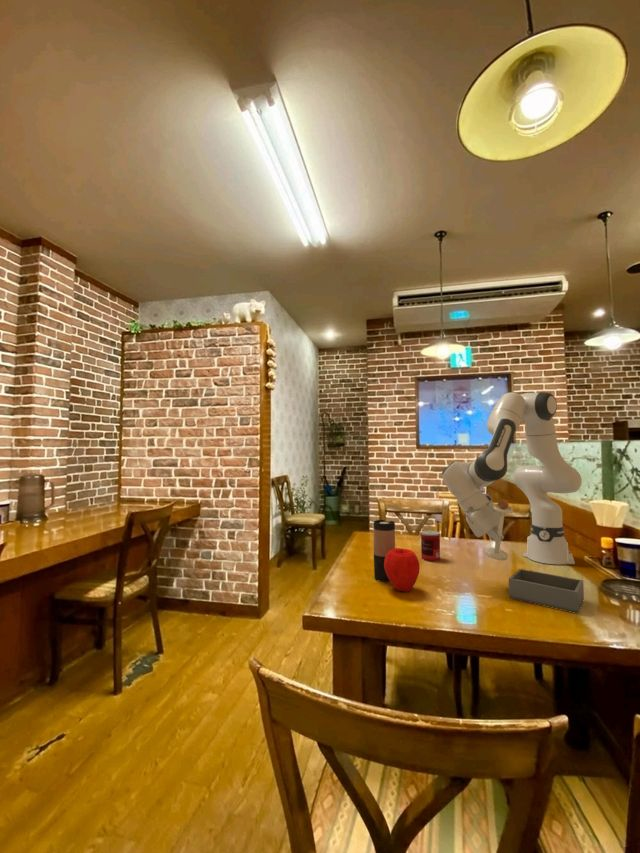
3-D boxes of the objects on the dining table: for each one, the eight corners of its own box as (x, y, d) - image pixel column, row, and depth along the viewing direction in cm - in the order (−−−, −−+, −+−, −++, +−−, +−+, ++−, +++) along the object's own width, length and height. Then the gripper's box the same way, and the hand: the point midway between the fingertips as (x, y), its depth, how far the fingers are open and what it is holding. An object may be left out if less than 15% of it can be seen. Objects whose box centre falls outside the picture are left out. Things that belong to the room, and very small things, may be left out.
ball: (500, 500, 132) (500, 496, 130) (510, 504, 130) (510, 500, 128) (496, 508, 131) (495, 504, 129) (506, 512, 130) (505, 508, 127)
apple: (377, 585, 133) (376, 545, 133) (406, 581, 137) (406, 542, 138) (395, 598, 122) (395, 554, 122) (427, 593, 126) (427, 551, 126)
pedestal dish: (488, 548, 138) (495, 502, 136) (510, 555, 134) (517, 507, 132) (482, 554, 133) (488, 506, 131) (503, 562, 129) (511, 512, 126)
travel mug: (379, 583, 136) (378, 524, 137) (370, 576, 143) (370, 520, 144) (399, 581, 138) (398, 523, 139) (389, 574, 145) (389, 519, 146)
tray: (519, 586, 132) (519, 568, 132) (583, 600, 121) (583, 580, 121) (509, 598, 122) (508, 578, 122) (577, 614, 111) (577, 592, 111)
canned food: (438, 556, 169) (437, 530, 169) (442, 562, 161) (441, 534, 161) (419, 556, 169) (419, 530, 170) (422, 561, 161) (422, 534, 162)
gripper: (471, 506, 128) (498, 545, 123) (491, 494, 143) (516, 528, 138) (456, 515, 131) (482, 553, 126) (477, 503, 147) (501, 536, 142)
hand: (500, 540), depth 132 cm, fingers closed on pedestal dish
